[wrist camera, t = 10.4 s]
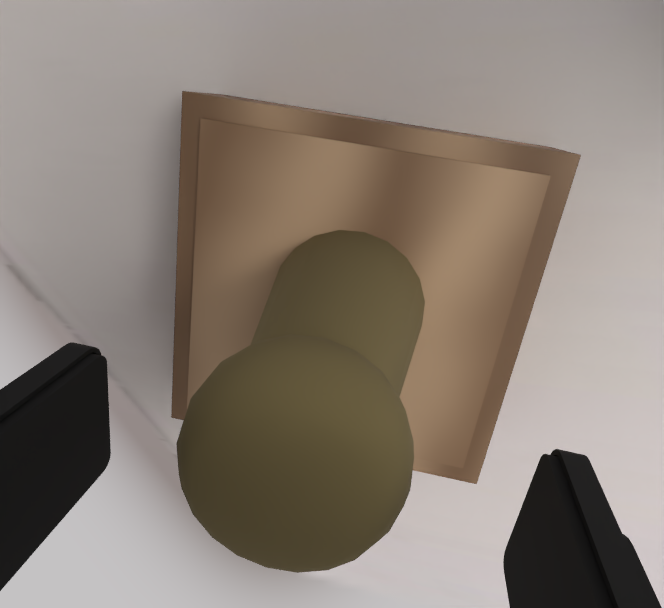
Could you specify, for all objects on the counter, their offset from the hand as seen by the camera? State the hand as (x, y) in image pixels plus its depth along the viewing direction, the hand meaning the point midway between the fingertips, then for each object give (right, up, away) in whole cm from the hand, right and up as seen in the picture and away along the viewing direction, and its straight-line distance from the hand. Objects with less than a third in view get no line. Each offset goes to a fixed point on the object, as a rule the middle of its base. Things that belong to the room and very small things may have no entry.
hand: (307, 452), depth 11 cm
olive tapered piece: (+1, +3, +9) cm, 10 cm away
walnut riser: (+2, +4, +13) cm, 14 cm away
